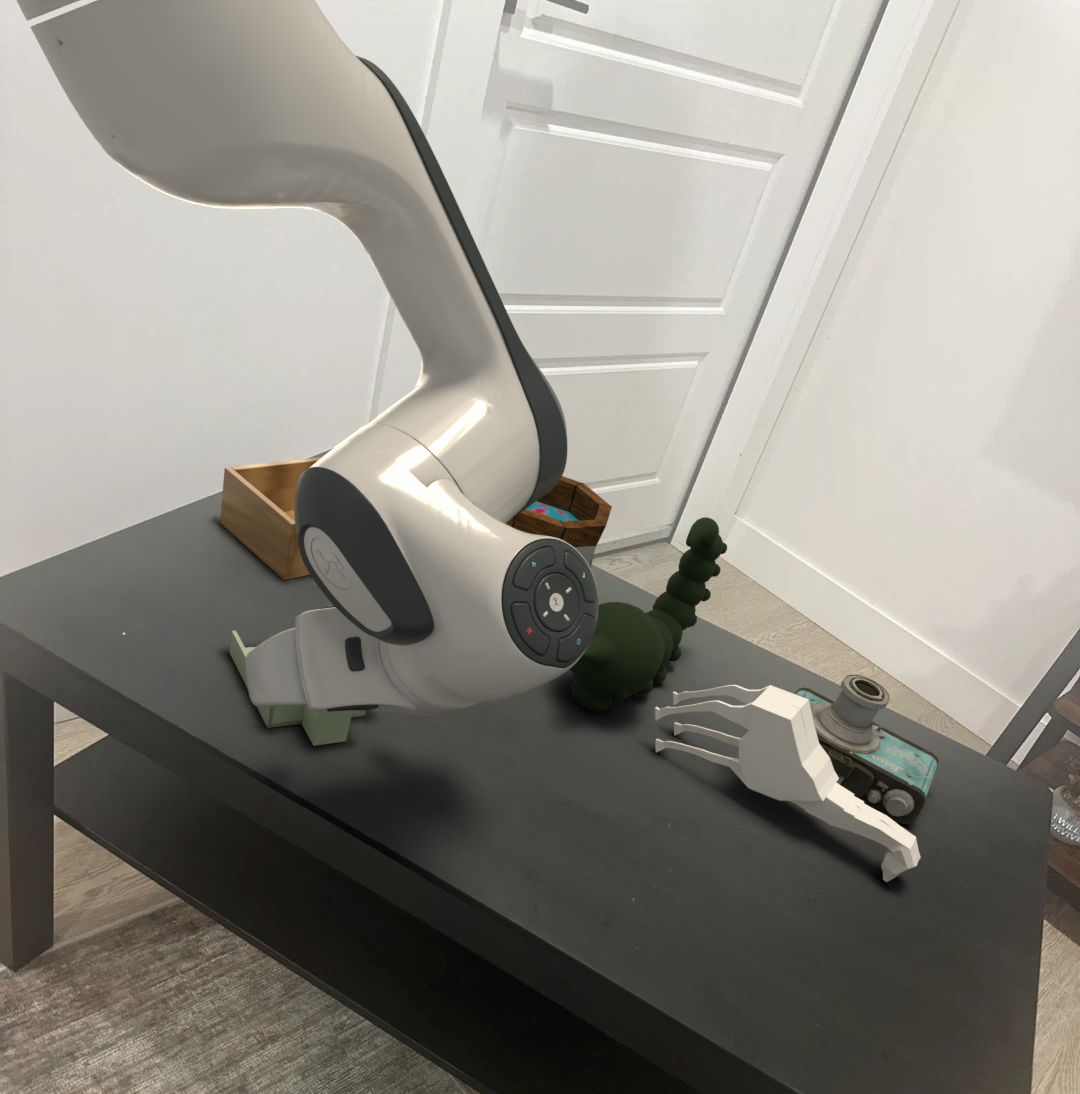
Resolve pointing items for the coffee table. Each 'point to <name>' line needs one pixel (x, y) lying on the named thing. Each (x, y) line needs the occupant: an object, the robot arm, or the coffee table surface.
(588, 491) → the mug
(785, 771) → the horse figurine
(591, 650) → the toy caterpillar
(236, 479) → the holder
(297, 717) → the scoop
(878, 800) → the camera
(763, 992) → the coffee table surface
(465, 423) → the robot arm
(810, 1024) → the coffee table surface
